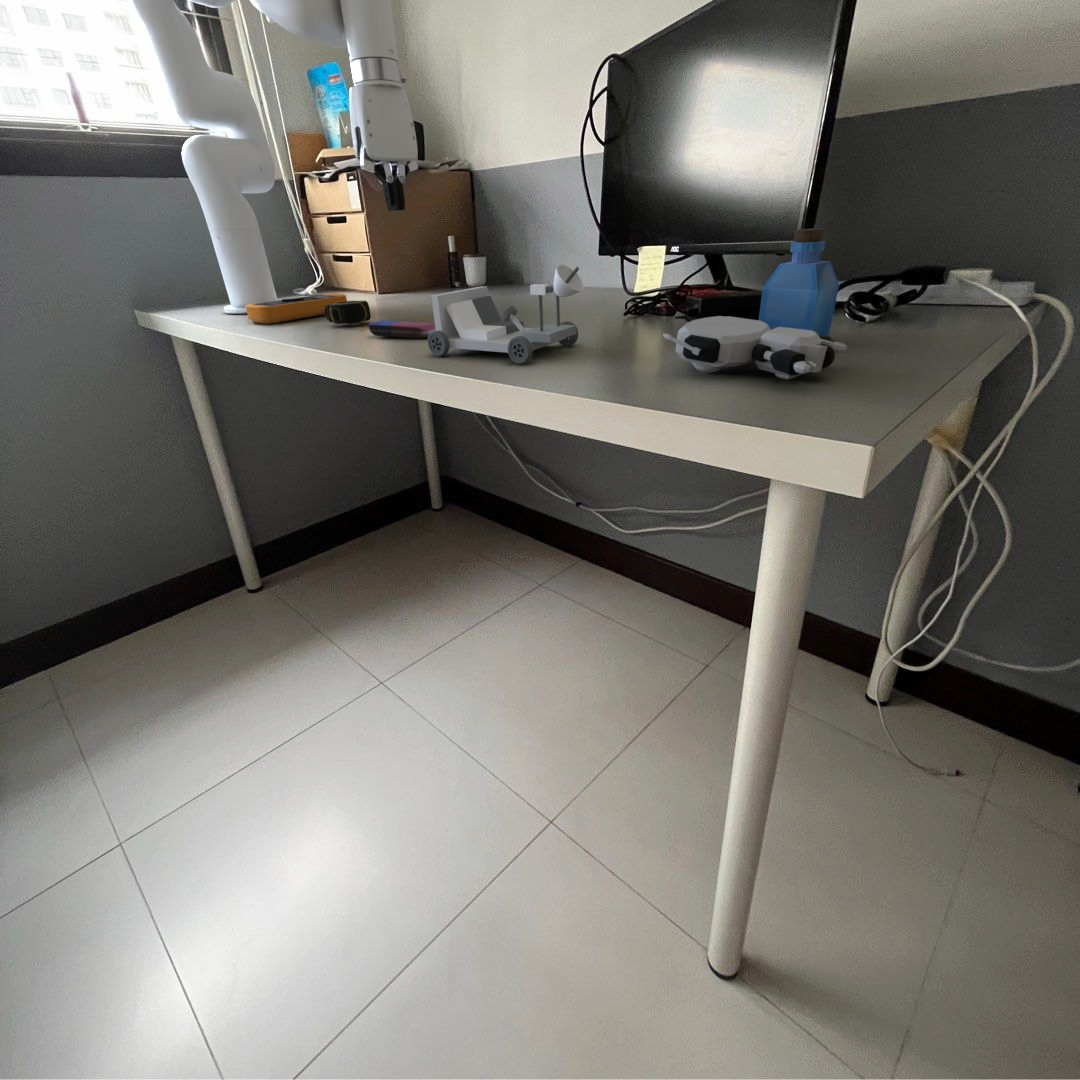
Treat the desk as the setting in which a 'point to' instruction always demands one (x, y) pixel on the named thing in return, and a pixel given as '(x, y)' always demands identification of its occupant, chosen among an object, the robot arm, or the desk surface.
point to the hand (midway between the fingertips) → (396, 210)
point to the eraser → (401, 329)
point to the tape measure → (348, 312)
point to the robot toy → (753, 346)
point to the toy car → (500, 321)
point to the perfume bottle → (802, 288)
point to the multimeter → (292, 308)
